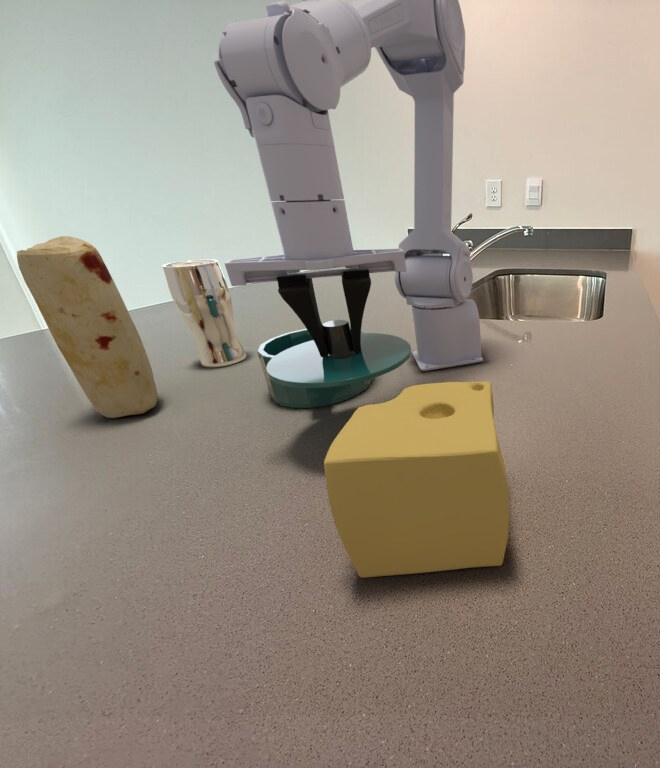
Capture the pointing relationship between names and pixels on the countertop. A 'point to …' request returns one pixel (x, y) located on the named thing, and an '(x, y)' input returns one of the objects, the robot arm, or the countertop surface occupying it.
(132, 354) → the food model
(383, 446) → the cheese
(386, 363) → the lid
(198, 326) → the beer glass
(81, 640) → the countertop surface
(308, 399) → the pot
